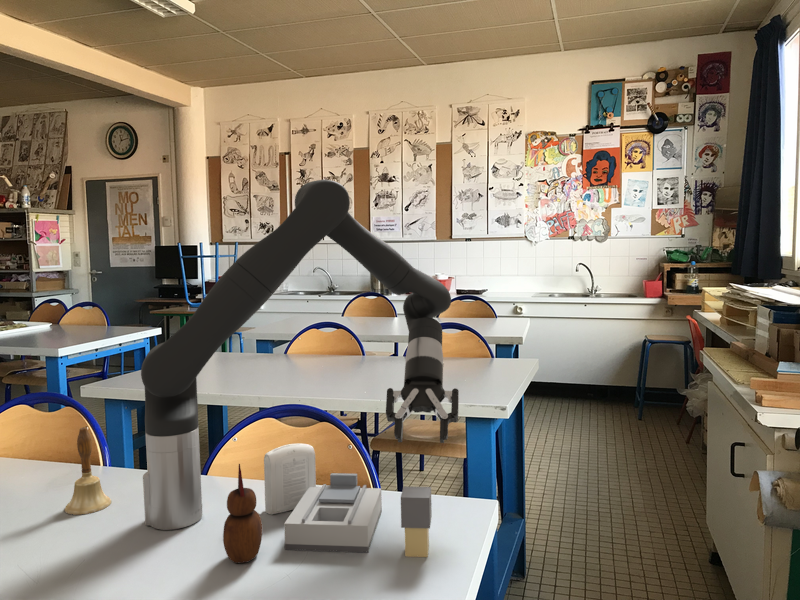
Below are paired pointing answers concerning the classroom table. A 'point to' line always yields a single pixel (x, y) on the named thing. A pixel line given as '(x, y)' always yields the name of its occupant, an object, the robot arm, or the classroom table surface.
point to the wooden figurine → (242, 525)
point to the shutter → (341, 489)
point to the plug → (416, 520)
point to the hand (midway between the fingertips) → (420, 440)
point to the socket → (333, 522)
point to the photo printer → (288, 476)
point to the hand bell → (86, 482)
